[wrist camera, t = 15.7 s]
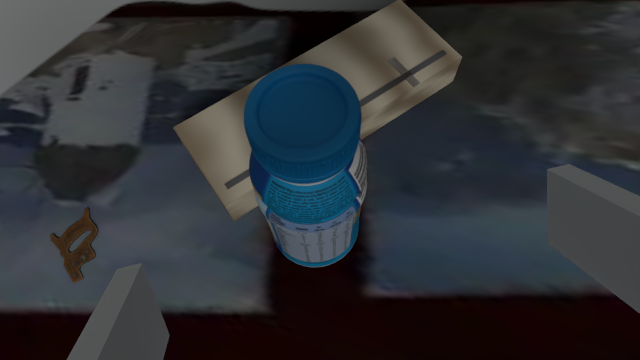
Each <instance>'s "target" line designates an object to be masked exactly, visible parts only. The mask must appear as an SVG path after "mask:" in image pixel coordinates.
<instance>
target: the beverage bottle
mask: <svg viewBox="0 0 640 360" xmlns="http://www.w3.org/2000/svg"><path fill="white" fill-rule="evenodd" d="M361 120H362V112H361V107H360V102H359V99H358V96H357V94H356V92H355V90H354V88H353V87H352V86H351V84H350V83H349V82H348V81H347V80H346V79H345V78H344V77H343V76H341V75H340V74H339V73H337V72H335V71H333V70H331V69H329V68H326V67H324V66H320V65H315V64H293V65H288V66H285V67H282V68H279V69H277V70H274V71H272V72H271V73H269V74H267V75H266V76H265V77H263V78H262V79H261V80H260V81H259V82H258V83H257V84H256V85H255V86H254V88H253V89H252V90H251V92H250V94H249V96H248V98H247V101H246V104H245V108H244V127H245V132H246V135H247V138H248V141H249V144H250V147H251V149H252V150H251V154H250V160H249V174H250V179H251V183H252V186H253V188H254V193H255V197H256V200H257V203H258V205H259V207H260V209H261V211H262V212H263V214H264V215H265V217H266V219H267V222H268V224H269V227H270V229H271V231H272V235H273V238H274V240H275V243H276V245H277V247H278V248H279V250H280V251H281V252H282V253H283V254H284V255H285V256H286V257H287V258H288V259H290V260H291V261H293V262H295V263H297V264H299V265H303V266H307V267H322V266H327V265H330V264H333V263H335V262H337V261H338V260H340V259H341V258H343V257H344V256H345V255H346V254H347V253H348V252H349V251H350V249H351V248H352V246H353V245H354V243H355V240H356V238H357V234H358V228H359V216H360V210H361V205H362V203H363V201H364V198H365V194H366V188H367V168H368V163H367V155H366V151H365V148H364V145H363V143H362V141H361V139H360V131H361Z"/></svg>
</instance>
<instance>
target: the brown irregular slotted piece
mask: <svg viewBox="0 0 640 360" xmlns="http://www.w3.org/2000/svg"><path fill="white" fill-rule="evenodd" d="M88 230H91V231H92V233H91V234H90V235H89V236H88V237H87V238H86V239H85V240H84V241H83V242H82V243H81V244H80V245H79V246H78V248H77V249H76V250H75V251H74V252H72V253H71V252H70V251H69V248H70V246H71V245H72V243H73V242H74V241H75V240H76V239H77V238H78V237H79V236H81V235H82V234H83V233H84V232H86V231H88ZM97 234H98V229H97V227H96V225H95V224H94V223H93V222H92V221H91V219H90V210H89V208H86V209H85V211H84V215H83V217H82V218H81V219H80V220H79V221H78V222H76V223H75V224H73V225H72V226H70V227H69V228H68V229H67V230H66V231H65V232H64V234H63V235H62V236H61V237H60V238H58V237H56V236H55V234H54V233H53V234H51V235H50V238H51V241H52V242H53V243H54V244H55V245H56V247H57V248H58V249H59V250H60V252H61V253H60V254H61V256H63V257H64V267H65V269H66V271H67V273H68V274H69V276H70V278H71V280H72V282H73V284H74V283H76V282H78V281H80V280H82V279H84V278H83V276H82V274H81V272H80V268H81V266H82V265H83V264H84V263H86V262H88V261H90V260H92V259H94V258H95V256H96V254H95V252H94V251H93V249H92V248H91V243H92V241H93V240H94V239H95V237H96V235H97Z"/></svg>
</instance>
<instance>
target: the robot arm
mask: <svg viewBox="0 0 640 360" xmlns="http://www.w3.org/2000/svg"><path fill="white" fill-rule="evenodd" d="M547 209H548V244H549V245H551V246H552V247H553V248H555V249H556V250H557V251H559V252H560V253H561V254H562V255H564V256H565V257H566V258H568V259H569V260H570V261H572V262H573V263H574V264H576V265H577V266H578V267H580V268H581V269H582V270H584V271H585V272H586V273H587V274H589V275H590V276H591V277H593V278H594V279H595V280H597V281H598V282H599V283H601V284H602V285H603V286H605V287H606V288H607V289H609V290H610V291H611V292H612V293H614V294H615V295H616V296H618V297H619V298H620V299H622V300H623V301H624V302H626V303H627V304H628V305H630V306H631V307H632V308H633V309H635V310H636V311H637V312H639V313H640V196H638V195H636V194H634V193H631V192H629V191H627V190H625V189H623V188H620V187H618V186H616V185H614V184H612V183H609V182H607V181H605V180H603V179H601V178H599V177H596V176H594V175H592V174H590V173H588V172H585V171H583V170H581V169H579V168H577V167H574V166H572V165H570V164H568V165H563V166H559V167H555V168H550V169H547ZM168 339H169V333H168V330H167V327H166V325H165V322H164V319H163V317H162V314H161V311H160V309H159V306H158V303H157V301H156V298H155V295H154V293H153V290H152V287H151V285H150V282H149V279H148V277H147V274H146V271H145V269H144V266H143V263H140V264H136V265H132V266H127V267H123V268H119V269H117V270H116V272H115V274H114V276H113V277H112V279H111V281H110V283H109V285H108V286H107V288H106V290H105V292H104V294H103V295H102V297H101V299H100V301H99V303H98V304H97V306H96V308H95V310H94V312H93V313H92V315H91V317H90V319H89V321H88V322H87V324H86V326H85V328H84V330H83V331H82V333H81V335H80V337H79V339H78V340H77V342H76V344H75V346H74V348H73V349H72V351H71V353H70V355H69V357H68V358H67V360H163V357H164V353H165V350H166V346H167V342H168Z"/></svg>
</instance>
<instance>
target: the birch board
mask: <svg viewBox="0 0 640 360" xmlns="http://www.w3.org/2000/svg"><path fill="white" fill-rule="evenodd" d="M461 58H462V56H461V55H459V54H458V53H457V52H456V51H455V50H454V49H453V48H452V47H451V46H450V45H449V44H448V43H446V42H445V41H444V40H443V39H442V38H441V37H440V36H439V35H438V34H437V33H436V32H435V31H434V30H432V29H431V28H430V27H429V26H428V25H427V24H426V23H425V22H424V21H423V20H422V19H421V18H420V17H418V16H417V15H416V14H415V13H414V12H413V11H412V10H411V9H410V8H409V7H408V6H407V5H406V4H404V3H403V2H402V1H401V0H397V1H395V2H394V3H392V4H390V5H388V6H387V7H385V8H383V9H381V10H379V11H378V12H376V13H374V14H372V15H371V16H369V17H367V18H365V19H364V20H362V21H360V22H358V23H357V24H355V25H353V26H351V27H350V28H348V29H346V30H344V31H342V32H341V33H339V34H337V35H335V36H334V37H332V38H330V39H328V40H327V41H325V42H323V43H321V44H320V45H318V46H316V47H314V48H312V49H311V50H309V51H307V52H305V53H304V54H302V55H300V56H298V57H297V58H295V59H293V60H291V61H290V62H288V63H286V64H284V65H282V66H281V67H279V68H282V67H285V66H288V65H293V64H315V65H320V66H324V67H326V68H329V69H331V70H333V71H335V72H337V73H339V74H340V75H341V76H343V77H344V78H345V79H346V80H347V81H348V82H349V83H350V84H351V86H352V87H353V88H354V90H355V92H356V94H357V96H358V99H359V102H360V107H361V112H362V120H361V131H360V139H361V140H362V139H363V138H365V137H366V136H368V135H370V134H371V133H373V132H374V131H376V130H377V129H379V128H380V127H382V126H384V125H385V124H387V123H388V122H390V121H391V120H393V119H395V118H396V117H398V116H399V115H401V114H402V113H404V112H405V111H407V110H409V109H410V108H412V107H413V106H415V105H416V104H418V103H420V102H421V101H423V100H424V99H426V98H427V97H429V96H431V95H432V94H434V93H435V92H437V91H438V90H440V89H441V88H443V87H445V86H446V85H448V84H449V83H451V82H452V81H453V80H454V77H455V74H456V72H457V69H458V66H459V64H460V61H461ZM279 68H277V69H279ZM277 69H275V70H277ZM270 73H271V72H270ZM268 74H269V73H268ZM265 76H266V75H265ZM265 76H263V77H265ZM263 77H261V78H260V79H258V80H256V81H254V82H252V83H251V84H249V85H247V86H245V87H244V88H242V89H240V90H238V91H237V92H235V93H233V94H231V95H230V96H228V97H226V98H224V99H223V100H221V101H219V102H217V103H215V104H214V105H212V106H210V107H208V108H207V109H205V110H203V111H201V112H200V113H198V114H196V115H194V116H193V117H191V118H189V119H187V120H185V121H184V122H182V123H180V124H178V125H177V126H175V127H173V128H174V130H175V131H176V133H177V134H178V136H179V138H180V139H181V141H182V143H183V144H184V146H185V148H186V149H187V151H188V152H189V154H190V155H191V157H192V158H193V160H194V161H195V163H196V164H197V166H198V167H199V169H200V170H201V172H202V173H203V175H204V177H205V178H206V180H207V181H208V183H209V184H210V186H211V187H212V189H213V190H214V192H215V193H216V195H217V196H218V198H219V199H220V201H221V202H222V204H223V205H224V207H225V208H226V210H227V211H228V213H229V214H230V216H231V218H232V219H233V221H235V220H237V219H238V218H240V217H241V216H243V215H244V214H246V213H248V212H249V211H251V210H252V209H254V208H255V207H257V206H258V203H257V200H256V197H255V193H254V188H253V186H252V183H251V179H250V174H249V160H250V154H251V150H252V149H251V147H250V144H249V141H248V138H247V135H246V132H245V127H244V108H245V104H246V101H247V98H248V96H249V94H250V92H251V90H252V89H253V88H254V86H255V85H256V84H257V83H258V82H259V81H260V80H261V79H262V78H263Z"/></svg>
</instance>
